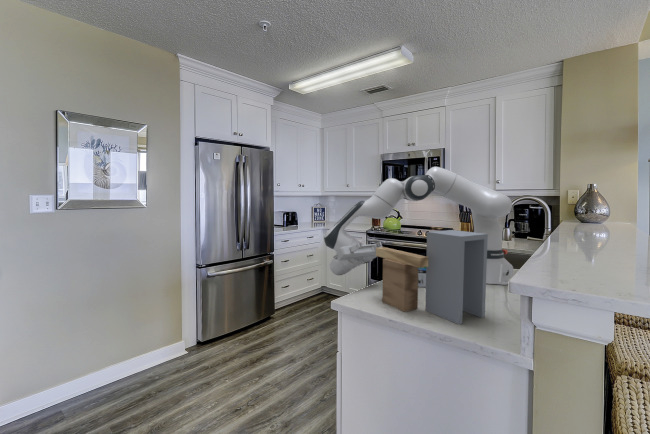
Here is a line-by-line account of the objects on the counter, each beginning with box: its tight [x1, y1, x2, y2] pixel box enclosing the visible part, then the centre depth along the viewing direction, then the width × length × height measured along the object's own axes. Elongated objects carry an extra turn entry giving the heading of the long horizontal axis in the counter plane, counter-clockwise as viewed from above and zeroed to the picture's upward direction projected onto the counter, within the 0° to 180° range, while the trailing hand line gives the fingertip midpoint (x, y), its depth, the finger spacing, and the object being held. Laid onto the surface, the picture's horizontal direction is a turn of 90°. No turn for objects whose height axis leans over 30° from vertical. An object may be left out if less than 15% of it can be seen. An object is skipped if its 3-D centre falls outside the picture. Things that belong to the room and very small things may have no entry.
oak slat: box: [376, 246, 428, 268], centre depth 109 cm, size 4×22×3 cm, turn 29°
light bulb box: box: [418, 267, 426, 288], centre depth 136 cm, size 11×7×11 cm, turn 168°
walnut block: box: [381, 258, 419, 313], centre depth 110 cm, size 6×11×16 cm, turn 29°
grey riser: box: [424, 229, 488, 325], centre depth 102 cm, size 12×13×26 cm
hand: (370, 244), depth 124 cm, fingers open, 8 cm apart
